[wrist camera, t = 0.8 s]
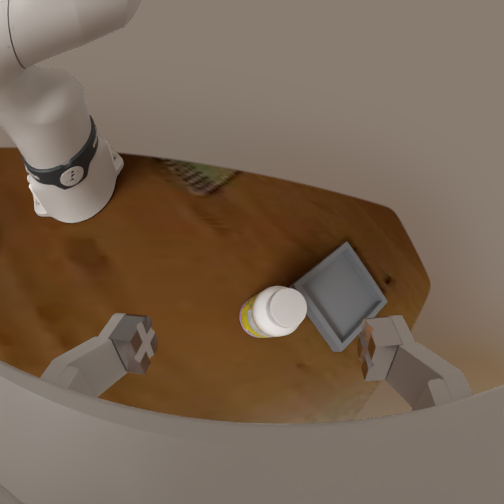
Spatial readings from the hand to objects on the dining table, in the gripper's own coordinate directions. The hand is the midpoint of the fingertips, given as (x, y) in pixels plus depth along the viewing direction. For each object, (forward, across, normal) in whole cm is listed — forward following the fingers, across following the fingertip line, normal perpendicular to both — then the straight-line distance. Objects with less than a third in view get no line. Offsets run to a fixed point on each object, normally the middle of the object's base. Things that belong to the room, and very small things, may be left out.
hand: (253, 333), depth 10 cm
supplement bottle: (+28, +3, +22) cm, 35 cm away
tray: (+34, -11, +23) cm, 42 cm away
